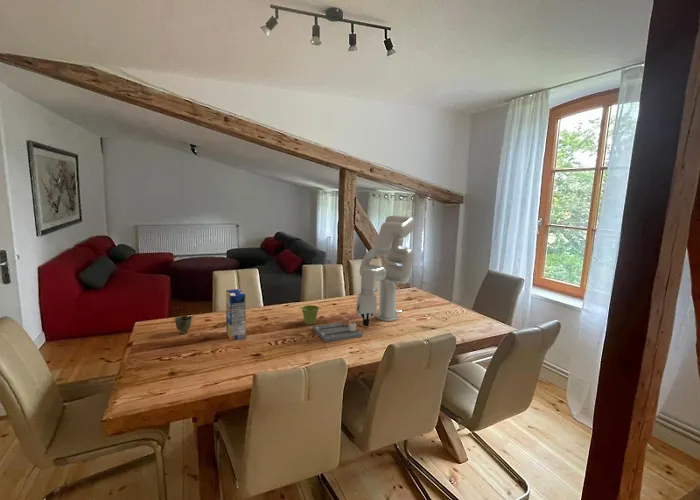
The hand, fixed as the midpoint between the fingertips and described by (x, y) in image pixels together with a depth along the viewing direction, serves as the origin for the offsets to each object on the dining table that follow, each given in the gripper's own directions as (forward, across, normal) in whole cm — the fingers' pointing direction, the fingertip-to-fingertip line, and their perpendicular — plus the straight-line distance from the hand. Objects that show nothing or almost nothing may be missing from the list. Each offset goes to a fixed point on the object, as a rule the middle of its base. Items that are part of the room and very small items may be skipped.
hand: (365, 325), depth 193 cm
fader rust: (+2, +8, -8) cm, 11 cm away
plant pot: (+4, +23, -22) cm, 32 cm away
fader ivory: (+2, +8, 0) cm, 8 cm away
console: (+4, +15, -4) cm, 16 cm away
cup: (+5, +86, -30) cm, 91 cm away
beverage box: (+4, +63, -18) cm, 65 cm away
